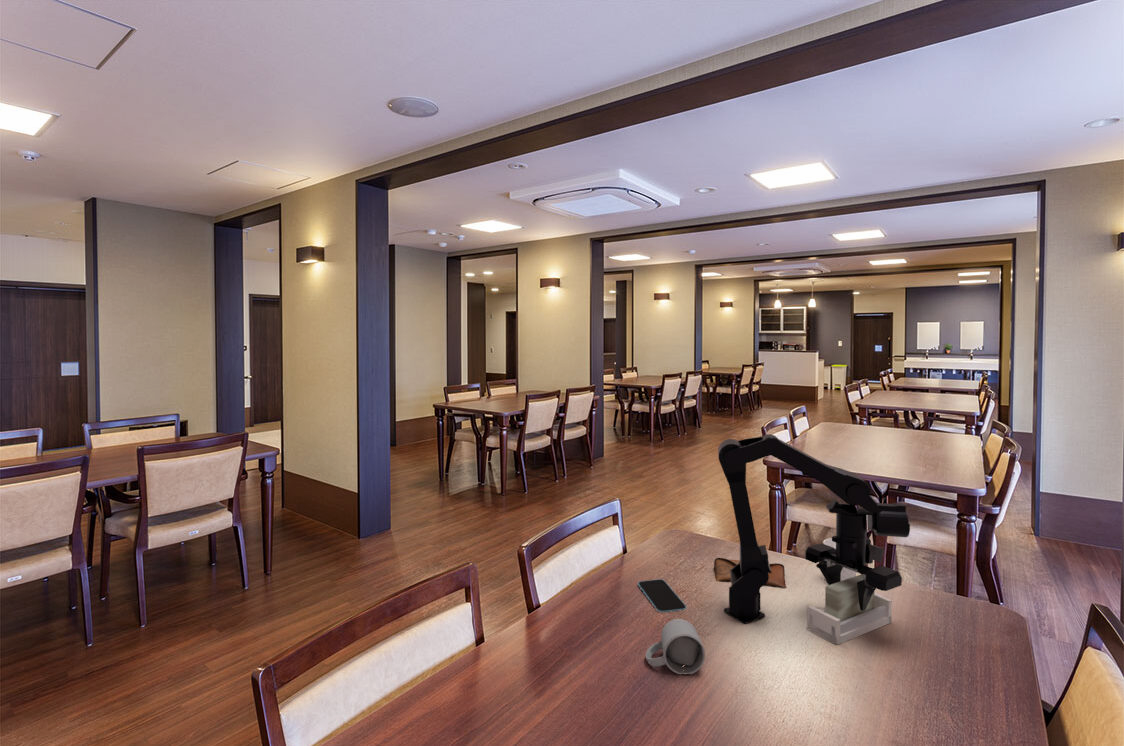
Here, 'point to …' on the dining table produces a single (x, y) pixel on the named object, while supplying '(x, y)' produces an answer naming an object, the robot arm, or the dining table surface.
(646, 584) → the smartphone
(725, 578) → the sunglasses case
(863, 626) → the cabinet track
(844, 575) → the white cup
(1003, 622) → the dining table surface
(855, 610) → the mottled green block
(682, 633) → the ceramic mug
